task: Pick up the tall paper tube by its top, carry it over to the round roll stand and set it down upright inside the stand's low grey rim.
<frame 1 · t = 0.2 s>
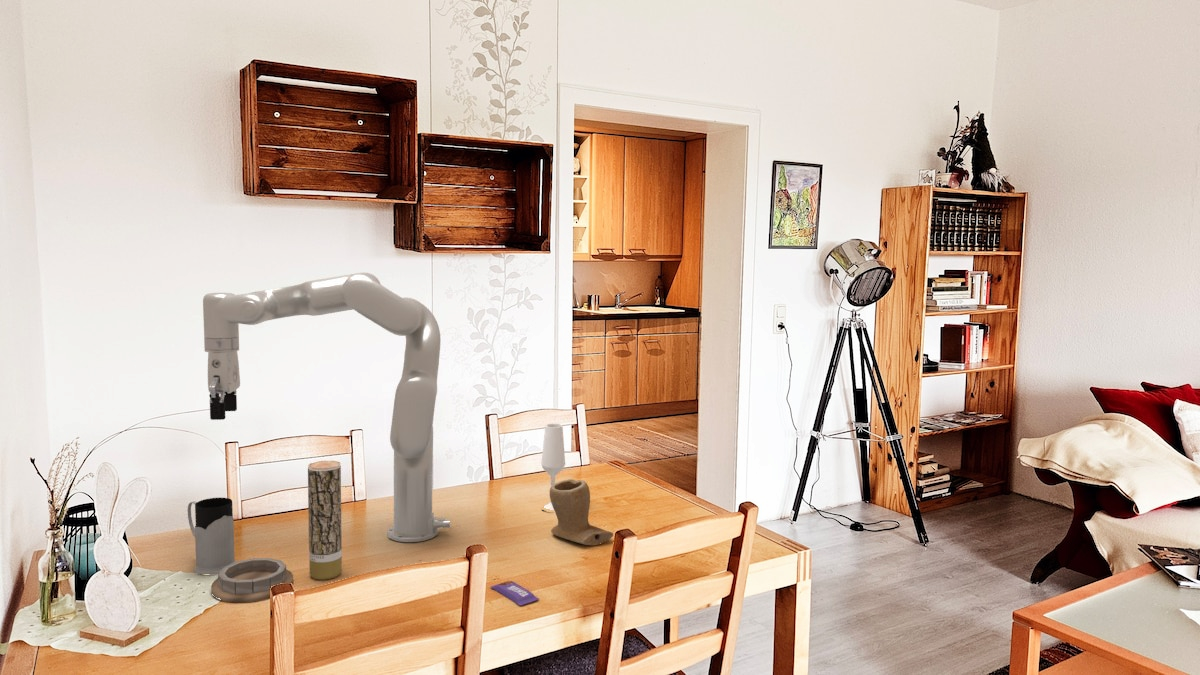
hand: (223, 415, 194), 31 cm above the table, tool pointing down, fingers open, 9 cm apart
clay pipe bowl: (576, 540, 204), on the table
glass holder: (208, 565, 182), on the table
champagne flute: (552, 509, 227), on the table
roll stand: (253, 586, 171), on the table
paper tube: (325, 575, 178), on the table
snack package: (514, 598, 171), on the table
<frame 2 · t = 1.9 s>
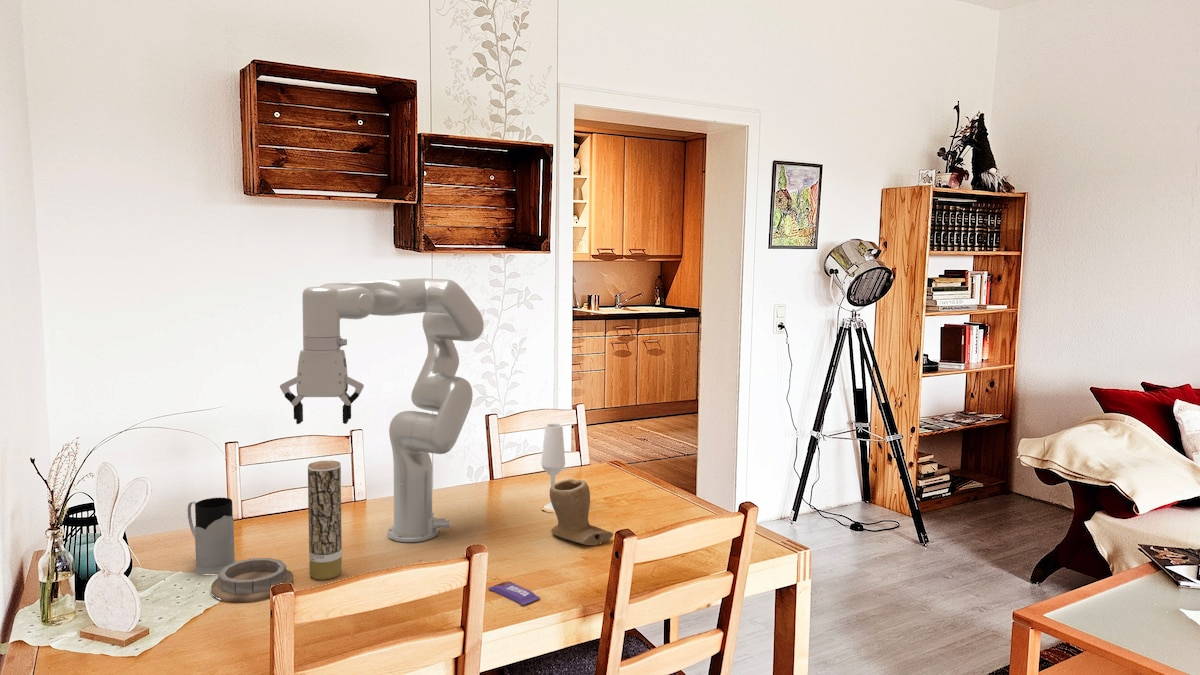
hand: (322, 422, 175), 34 cm above the table, tool pointing down, fingers open, 9 cm apart
nothing on the table moved.
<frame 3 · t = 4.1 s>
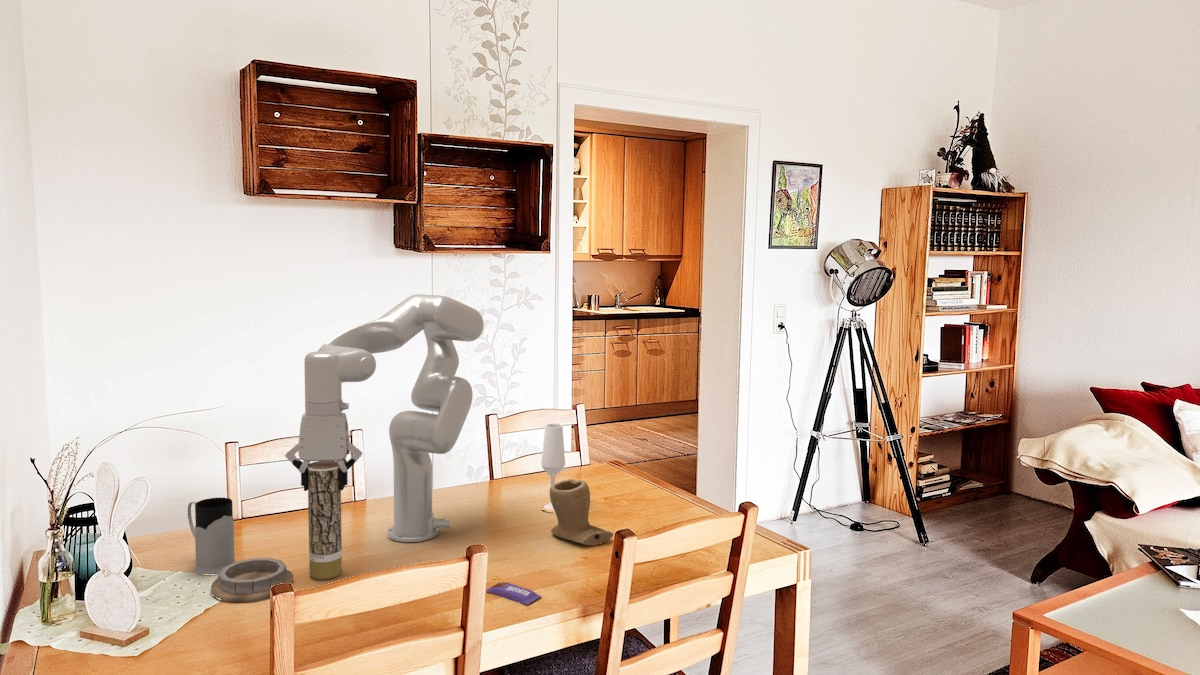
hand: (324, 488, 176), 20 cm above the table, tool pointing down, fingers closed on paper tube, 6 cm apart
paper tube: (325, 575, 178), on the table, touching gripper
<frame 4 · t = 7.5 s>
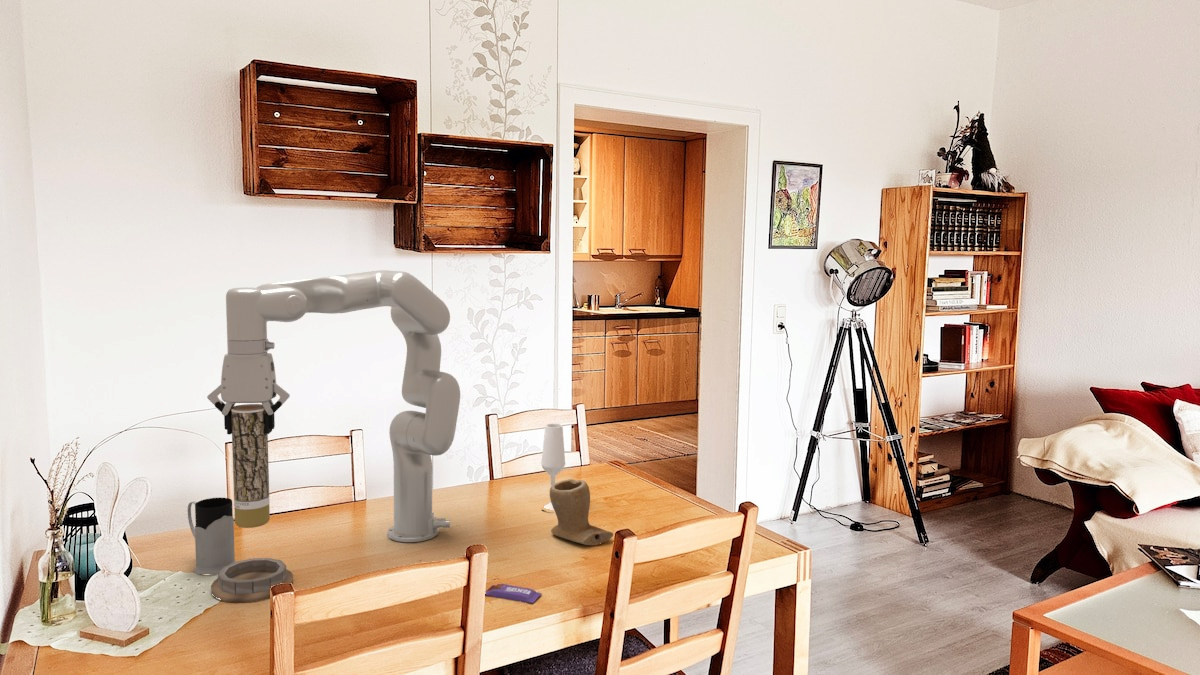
hand: (249, 432, 168), 34 cm above the table, tool pointing down, fingers closed on paper tube, 6 cm apart
paper tube: (252, 524, 170), point 14 cm above the table, touching gripper
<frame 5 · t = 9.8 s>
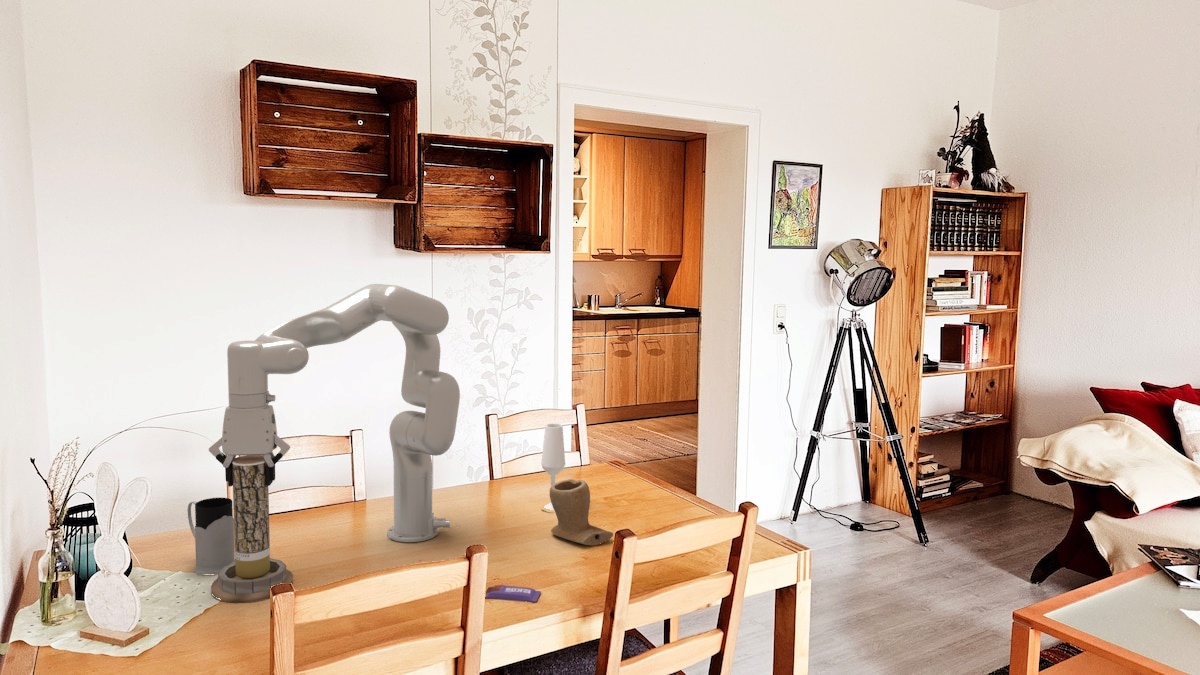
hand: (250, 483, 169), 22 cm above the table, tool pointing down, fingers closed on paper tube, 6 cm apart
paper tube: (253, 574, 171), point 3 cm above the table, touching gripper
when the fingers open (22 cm above the table, at t = 10.9 s): paper tube drops 1 cm, resting on roll stand.
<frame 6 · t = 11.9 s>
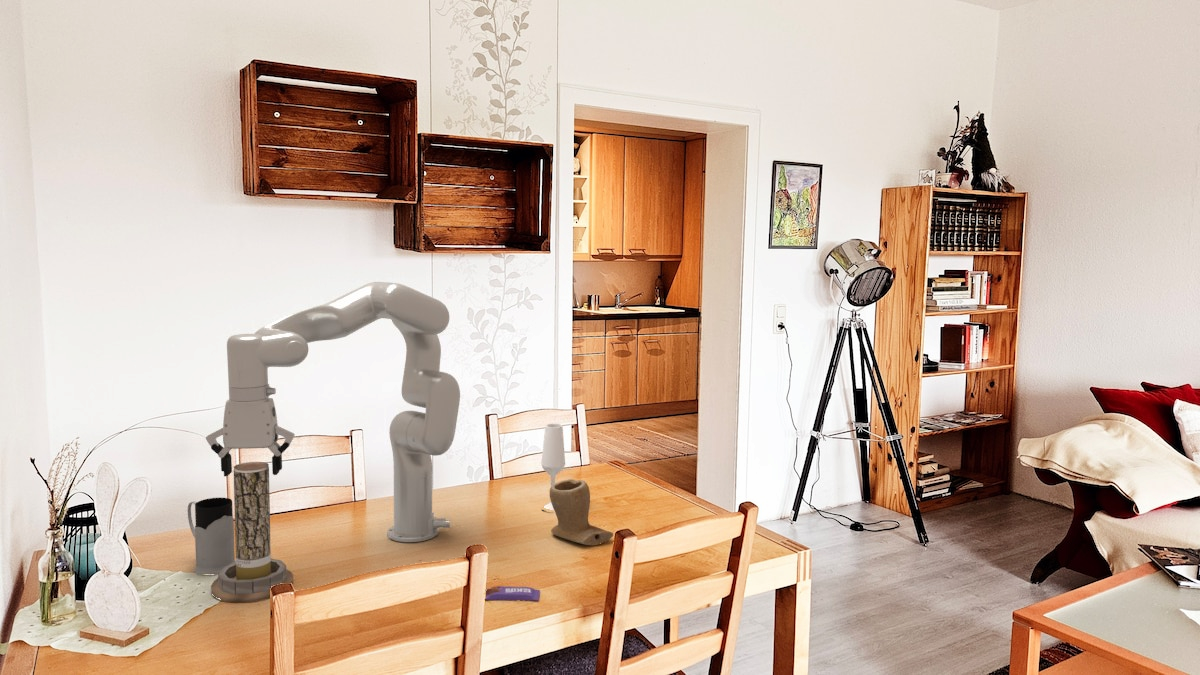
hand: (252, 473, 169), 25 cm above the table, tool pointing down, fingers open, 9 cm apart
paper tube: (253, 581, 171), point 1 cm above the table, touching roll stand
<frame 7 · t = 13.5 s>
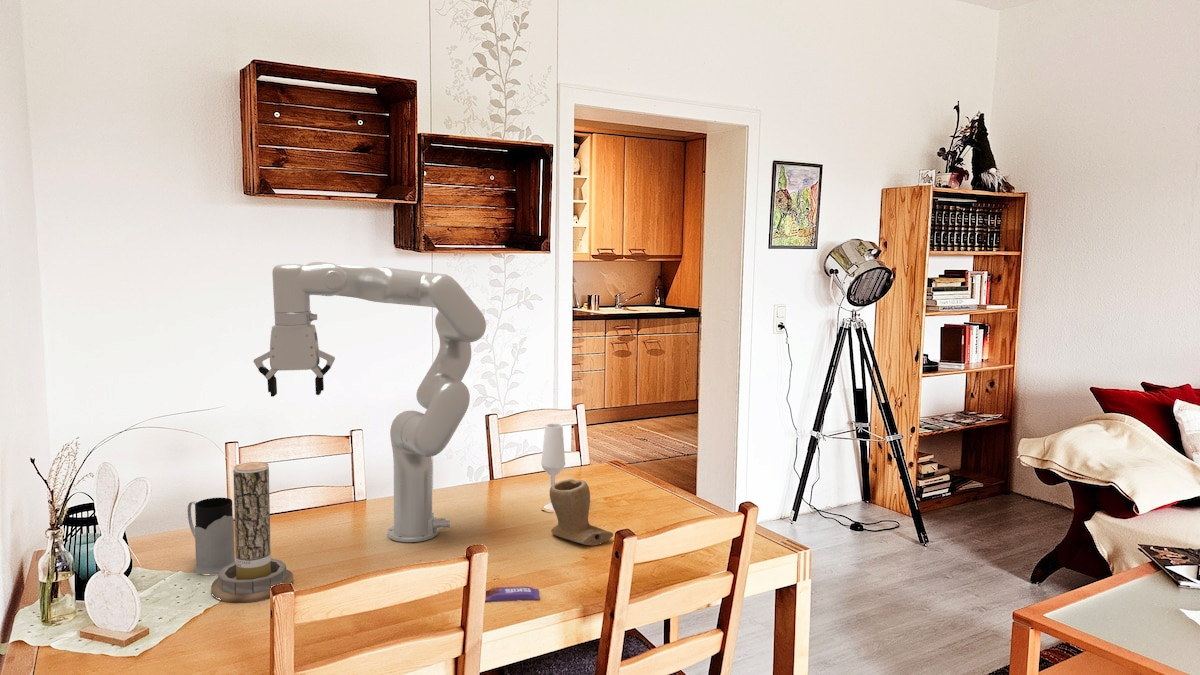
hand: (296, 394, 182), 39 cm above the table, tool pointing down, fingers open, 9 cm apart
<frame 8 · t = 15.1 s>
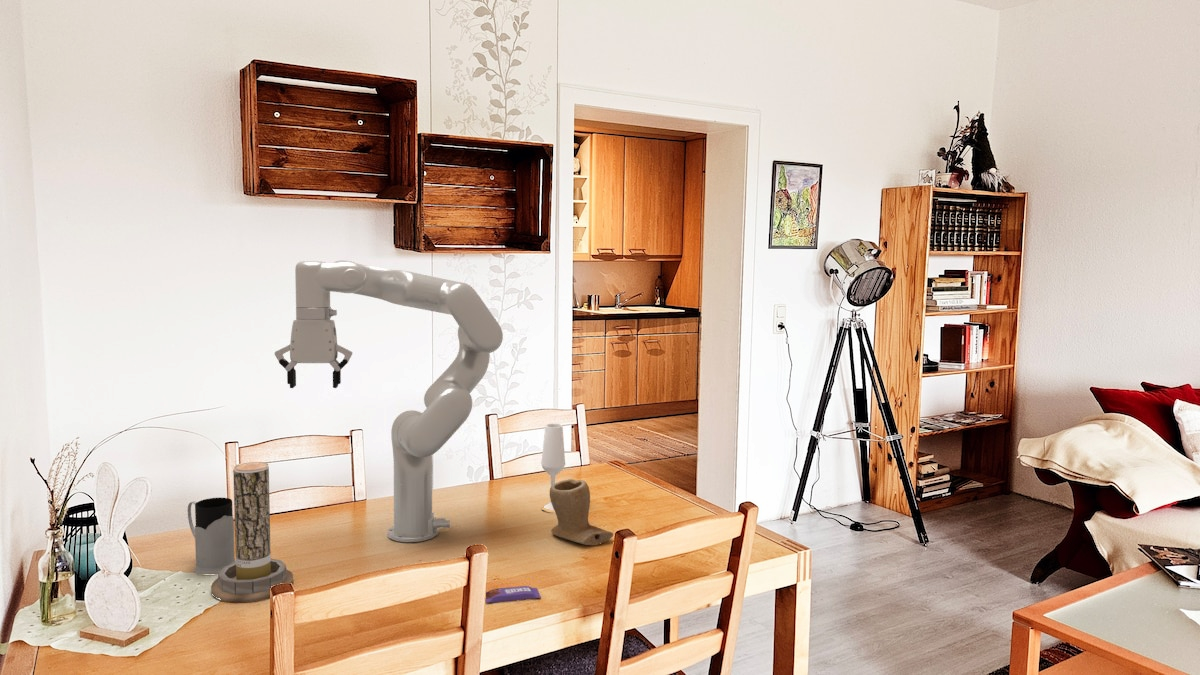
hand: (314, 387, 189), 39 cm above the table, tool pointing down, fingers open, 9 cm apart
at the end: paper tube 0.2 cm off-centre on the roll stand, point 1.0 cm above the roll stand's base; paper tube tilted 0°; the gripper is holding nothing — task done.
